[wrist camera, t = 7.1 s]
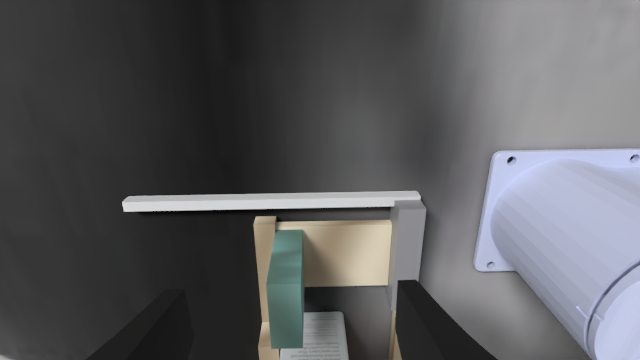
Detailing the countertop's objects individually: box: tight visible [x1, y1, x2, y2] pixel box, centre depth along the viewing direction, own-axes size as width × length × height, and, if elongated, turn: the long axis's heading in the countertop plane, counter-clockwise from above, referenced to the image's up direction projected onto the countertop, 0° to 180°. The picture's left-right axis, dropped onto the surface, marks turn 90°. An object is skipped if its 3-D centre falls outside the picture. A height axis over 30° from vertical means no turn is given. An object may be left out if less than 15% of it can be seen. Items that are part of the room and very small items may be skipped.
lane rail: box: [122, 191, 426, 311], centre depth 22 cm, size 17×7×2 cm, turn 91°
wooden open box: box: [254, 216, 402, 360], centre depth 22 cm, size 9×15×6 cm, turn 1°
